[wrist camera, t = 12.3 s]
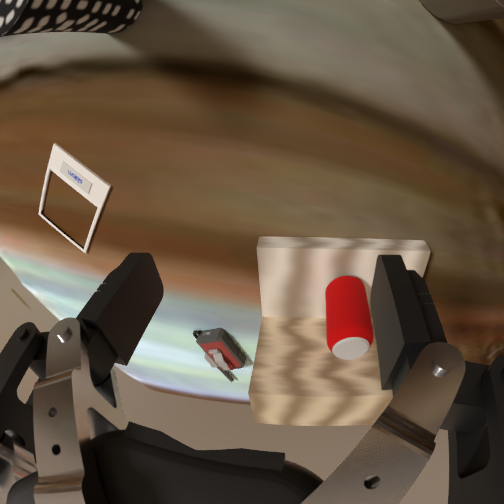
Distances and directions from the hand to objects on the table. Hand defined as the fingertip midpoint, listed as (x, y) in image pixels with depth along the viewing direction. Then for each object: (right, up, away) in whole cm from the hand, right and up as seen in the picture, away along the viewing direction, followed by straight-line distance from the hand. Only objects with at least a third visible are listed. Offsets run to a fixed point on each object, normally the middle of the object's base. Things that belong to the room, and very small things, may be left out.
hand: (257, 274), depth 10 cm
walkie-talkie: (-6, -22, +53) cm, 57 cm away
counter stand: (+15, -7, +37) cm, 41 cm away
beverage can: (+14, -4, +32) cm, 35 cm away
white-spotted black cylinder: (-19, +35, +15) cm, 42 cm away
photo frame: (-34, +11, +35) cm, 50 cm away
